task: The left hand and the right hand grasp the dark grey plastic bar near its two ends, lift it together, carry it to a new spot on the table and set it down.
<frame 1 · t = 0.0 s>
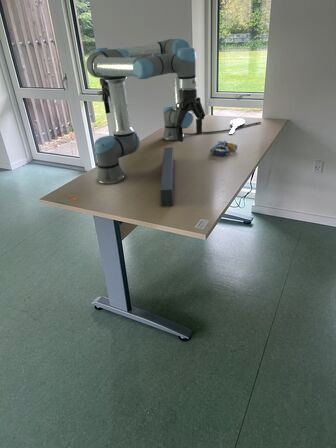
left hand: (190, 137, 154), 28 cm above the table, tool pointing down, fingers open, 13 cm apart
right hand: (111, 114, 206), 28 cm above the table, tool pointing down, fingers open, 13 cm apart
spoon: (235, 127, 259), on the table
bar: (168, 180, 184), on the table
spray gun: (224, 151, 215), on the table
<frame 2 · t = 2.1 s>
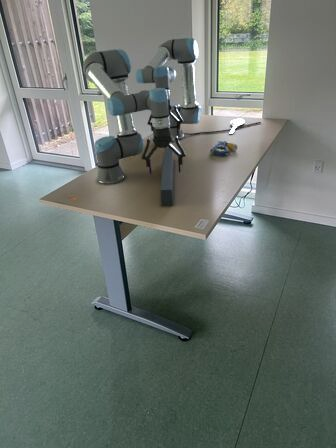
left hand: (165, 172, 156), 14 cm above the table, tool pointing down, fingers open, 13 cm apart
right hand: (166, 135, 194), 18 cm above the table, tool pointing down, fingers open, 13 cm apart
nothing on the table moved.
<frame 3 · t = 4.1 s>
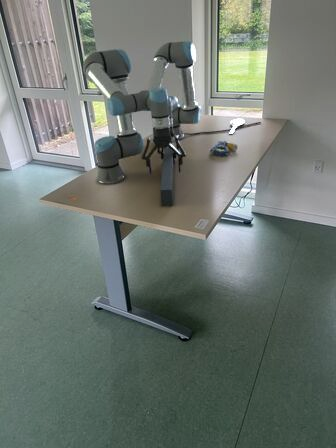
left hand: (165, 172, 156), 14 cm above the table, tool pointing down, fingers open, 13 cm apart
right hand: (169, 163, 203), 1 cm above the table, tool pointing down, fingers closed on bar, 5 cm apart
bar: (168, 180, 184), on the table, touching right hand
everything else where it was.
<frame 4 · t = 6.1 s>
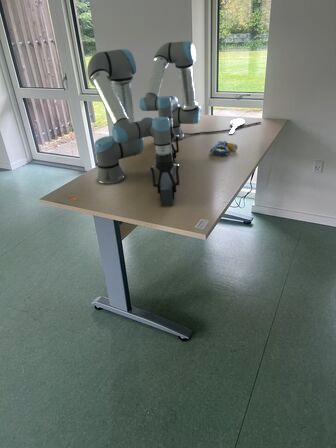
left hand: (167, 198, 164), 1 cm above the table, tool pointing down, fingers closed on bar, 5 cm apart
right hand: (169, 163, 203), 1 cm above the table, tool pointing down, fingers closed on bar, 5 cm apart
bar: (168, 180, 184), on the table, touching right hand, left hand
everything else where it was.
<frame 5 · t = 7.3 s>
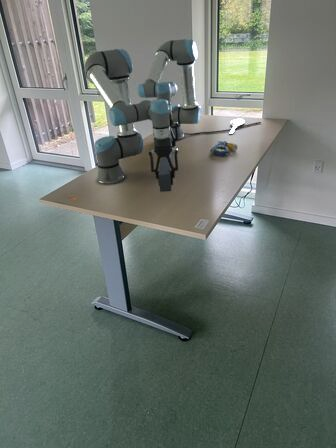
left hand: (165, 184, 160), 8 cm above the table, tool pointing down, fingers closed on bar, 5 cm apart
right hand: (168, 151, 199), 8 cm above the table, tool pointing down, fingers closed on bar, 5 cm apart
bar: (167, 167, 180), point 7 cm above the table, touching right hand, left hand
everything else where it was.
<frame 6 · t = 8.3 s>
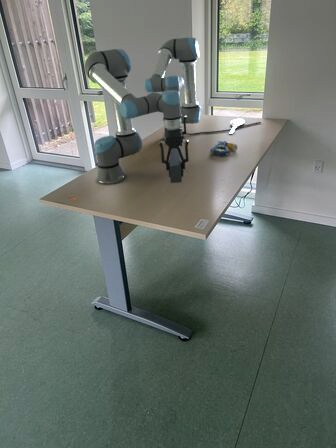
left hand: (176, 175, 161), 11 cm above the table, tool pointing down, fingers closed on bar, 5 cm apart
right hand: (176, 145, 201), 10 cm above the table, tool pointing down, fingers closed on bar, 5 cm apart
bar: (176, 160, 181), point 10 cm above the table, touching right hand, left hand
everything else where it was.
when the left hand's fingers open (2 cm above the table, at t = 10.8 s): bar stays where it is, on the table.
when the right hand's fingers open (2 cm above the table, at t = 10.8 s): bar stays where it is, on the table.
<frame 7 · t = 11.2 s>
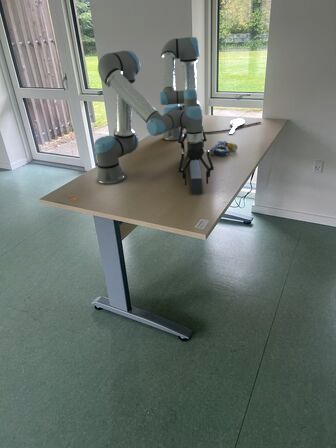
left hand: (196, 183, 170), 3 cm above the table, tool pointing down, fingers open, 10 cm apart
right hand: (192, 152, 210), 3 cm above the table, tool pointing down, fingers open, 10 cm apart
bar: (194, 171, 192), on the table
everything else where it was.
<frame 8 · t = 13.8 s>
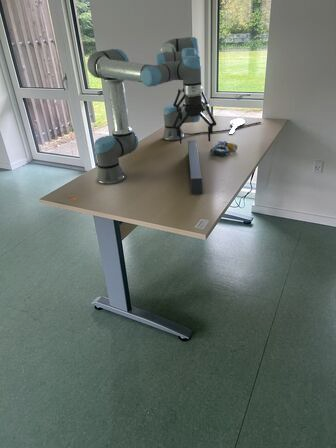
left hand: (194, 141, 159), 25 cm above the table, tool pointing down, fingers open, 13 cm apart
right hand: (191, 117, 198), 25 cm above the table, tool pointing down, fingers open, 13 cm apart
nothing on the table moved.
at the end: bar inside the target area (0.2 cm from its centre), on the table; bar tilted 0°; bar never tilted more than 1° during the clip; both hands held the bar at the same time; the left hand is holding nothing; the right hand is holding nothing; bar at rest at the end (0.0 cm/s) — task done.
